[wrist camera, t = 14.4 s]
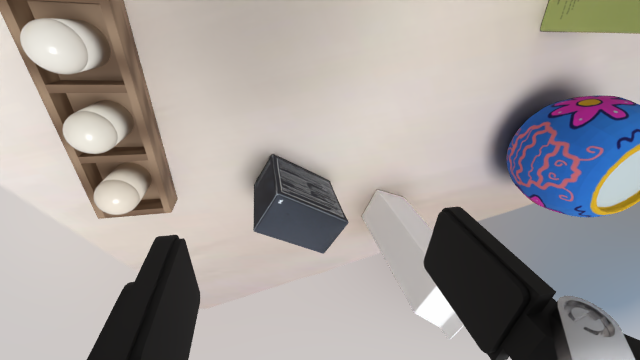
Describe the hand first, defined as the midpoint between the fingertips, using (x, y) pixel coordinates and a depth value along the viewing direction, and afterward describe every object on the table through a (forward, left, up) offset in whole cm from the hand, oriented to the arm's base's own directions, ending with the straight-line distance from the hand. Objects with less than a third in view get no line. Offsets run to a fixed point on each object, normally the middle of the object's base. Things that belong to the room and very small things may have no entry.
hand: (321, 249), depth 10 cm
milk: (+20, +18, -28) cm, 39 cm away
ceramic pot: (+8, +44, -28) cm, 53 cm away
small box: (+14, +2, -29) cm, 32 cm away
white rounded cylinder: (-5, -19, -28) cm, 34 cm away
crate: (+3, -19, -28) cm, 34 cm away
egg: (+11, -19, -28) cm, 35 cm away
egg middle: (+3, -19, -28) cm, 34 cm away
